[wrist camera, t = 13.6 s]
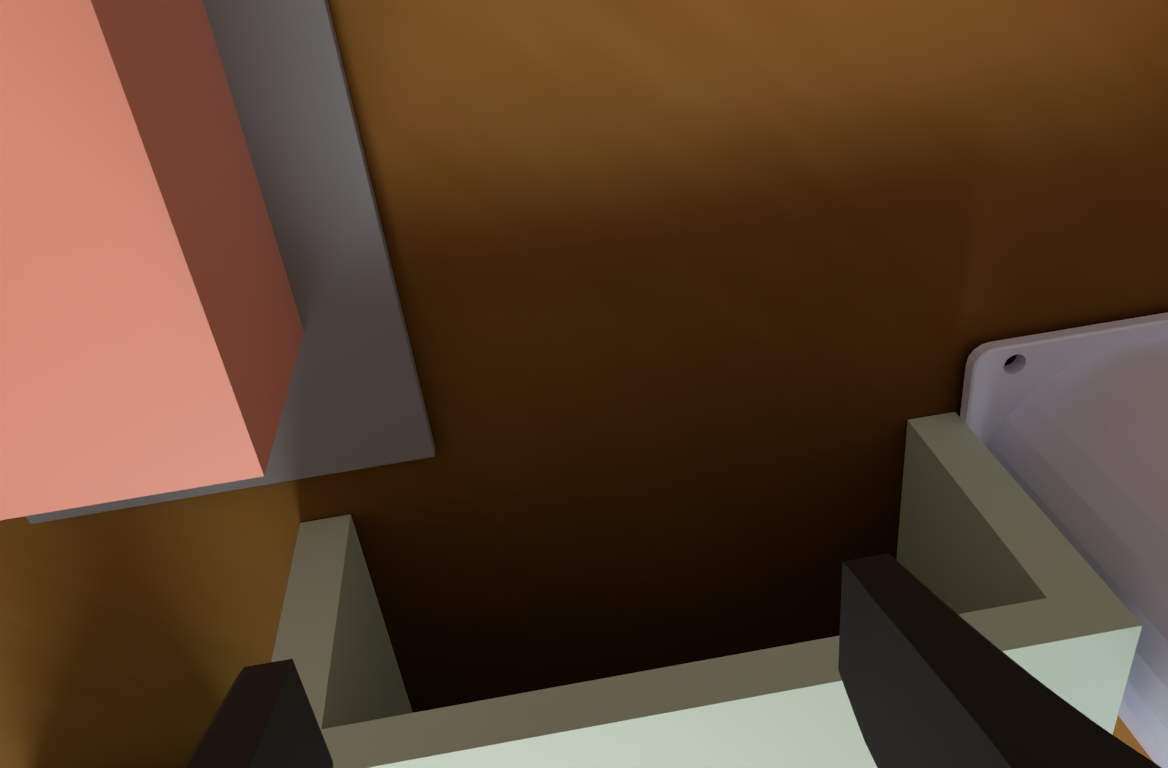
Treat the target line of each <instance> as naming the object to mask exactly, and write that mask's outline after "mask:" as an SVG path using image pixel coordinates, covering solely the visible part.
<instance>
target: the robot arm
mask: <svg viewBox="0 0 1168 768" xmlns="http://www.w3.org/2000/svg"><path fill="white" fill-rule="evenodd" d="M1016 354H1017V356H1016V358H1015V360H1014V361H1013V362H1012V363H1011V364H1008V365H1006V366H1004V364H1005V362H1006V360H1008V359H1009V358H1010V357H1011V356H1013V355H1016ZM960 418H961V419H962V420H963V421H964V422H965V424H966V425H967V426H968V427H969V428H970V429H971V430H972V432H973V433H974V434H975V435H976V436H977V437H978V438H979V440H980V441H981V442H982V443H983V444H984V445H985V446H986V448H987V449H988V450H989V451H990V452H991V453H992V454H993V456H994V457H995V458H996V459H997V460H998V461H999V462H1000V464H1001V465H1002V466H1003V467H1004V468H1005V469H1006V470H1007V472H1008V473H1009V474H1010V475H1011V476H1012V477H1013V478H1014V480H1015V481H1016V482H1017V483H1018V484H1019V485H1020V486H1021V488H1022V489H1023V490H1024V491H1025V492H1026V493H1027V494H1028V496H1029V497H1030V498H1031V499H1032V500H1033V501H1034V502H1035V504H1036V505H1037V506H1038V507H1039V508H1040V509H1041V510H1042V512H1043V513H1044V514H1045V515H1046V516H1047V517H1048V518H1049V520H1050V521H1051V522H1052V523H1053V524H1054V525H1055V526H1056V528H1057V529H1058V530H1059V531H1060V532H1061V533H1062V534H1063V536H1064V537H1065V538H1066V539H1067V540H1068V541H1069V542H1070V544H1071V545H1072V546H1073V547H1074V548H1075V549H1076V550H1077V552H1078V553H1079V554H1080V555H1081V556H1082V557H1083V558H1084V560H1085V561H1086V562H1087V563H1088V564H1089V565H1090V566H1091V568H1092V569H1093V570H1094V571H1095V572H1096V573H1097V574H1098V576H1099V577H1100V578H1101V579H1102V580H1103V581H1104V582H1105V584H1106V585H1107V586H1108V587H1109V588H1110V589H1111V590H1112V592H1113V593H1114V594H1115V595H1116V596H1117V597H1118V598H1119V600H1120V601H1121V602H1122V603H1123V604H1124V605H1125V606H1126V608H1127V609H1128V610H1129V611H1130V612H1131V613H1132V614H1133V616H1134V617H1135V618H1136V619H1137V620H1138V621H1139V622H1140V623H1141V625H1142V628H1141V632H1140V636H1139V639H1138V643H1137V647H1136V650H1135V654H1134V657H1133V661H1132V665H1131V668H1130V672H1129V676H1128V679H1127V683H1126V687H1125V690H1124V694H1123V697H1122V701H1121V705H1120V708H1119V712H1118V716H1119V717H1120V718H1121V720H1122V721H1123V722H1124V723H1125V725H1126V726H1127V727H1128V729H1129V730H1130V731H1131V733H1132V734H1133V735H1134V737H1135V738H1136V739H1137V741H1138V742H1139V743H1140V745H1141V746H1142V747H1143V749H1144V750H1145V751H1146V752H1147V754H1148V755H1149V756H1150V758H1151V759H1152V760H1153V762H1152V761H1151V760H1149V759H1148V758H1146V757H1145V756H1143V755H1141V754H1140V753H1138V752H1137V751H1135V750H1134V749H1132V748H1131V747H1129V746H1128V745H1127V744H1125V743H1124V742H1122V741H1121V740H1119V739H1118V738H1116V737H1115V736H1113V735H1112V734H1111V733H1109V732H1108V731H1106V730H1105V729H1103V728H1102V727H1101V726H1099V725H1098V724H1096V723H1095V722H1094V721H1092V720H1091V719H1089V718H1088V717H1087V716H1085V715H1084V714H1083V713H1081V712H1080V711H1079V710H1077V709H1076V708H1074V707H1073V706H1072V705H1070V704H1069V703H1068V702H1066V701H1065V700H1064V699H1062V698H1061V697H1059V696H1058V695H1057V694H1056V693H1054V692H1053V691H1052V690H1050V689H1049V688H1048V687H1046V686H1045V685H1044V684H1043V683H1041V682H1040V681H1039V680H1037V679H1036V678H1035V677H1033V676H1032V675H1031V674H1030V673H1028V672H1027V671H1026V670H1025V669H1023V668H1022V667H1021V666H1020V665H1019V664H1017V663H1016V662H1015V661H1014V660H1012V659H1011V658H1010V657H1009V656H1007V655H1006V654H1005V653H1004V652H1002V651H1001V650H1000V649H999V648H997V647H996V646H995V645H994V644H992V643H991V642H990V641H989V640H988V639H986V638H985V637H984V636H983V635H982V634H980V633H979V632H978V631H977V630H976V629H975V628H973V627H972V626H971V625H970V624H969V623H967V622H966V621H965V620H964V619H963V618H962V617H961V616H959V615H958V614H957V613H956V612H955V611H954V610H952V609H951V608H950V607H949V606H948V605H947V604H946V603H944V602H943V601H942V600H941V599H940V598H939V597H938V596H936V595H935V594H934V593H933V592H932V591H931V590H930V589H929V588H927V587H926V586H925V585H924V584H923V583H922V582H921V581H920V580H918V579H917V578H916V577H915V576H914V575H913V574H912V573H911V572H909V571H908V570H907V569H906V568H905V567H904V566H903V565H902V564H900V563H899V562H898V561H897V560H896V559H895V558H893V557H892V556H891V555H889V554H888V553H887V554H881V555H875V556H870V557H864V558H858V559H853V560H847V561H843V563H842V588H841V612H840V637H839V662H838V670H839V673H840V676H841V679H842V682H843V684H844V687H845V690H846V693H847V695H848V698H849V701H850V704H851V707H852V709H853V712H854V715H855V717H856V720H857V723H858V725H859V728H860V730H861V733H862V736H863V738H864V741H865V743H866V745H867V747H868V749H869V751H870V753H871V756H872V758H873V760H874V762H875V764H876V766H877V768H1168V312H1166V313H1160V314H1154V315H1148V316H1142V317H1136V318H1130V319H1124V320H1118V321H1112V322H1106V323H1100V324H1094V325H1088V326H1082V327H1076V328H1070V329H1064V330H1058V331H1052V332H1046V333H1040V334H1034V335H1028V336H1022V337H1016V338H1010V339H1004V340H998V341H992V342H987V343H984V344H982V345H980V346H978V347H977V348H976V349H974V350H973V351H972V353H971V354H970V355H969V357H968V359H967V362H966V368H965V377H964V386H963V394H962V403H961V412H960ZM184 768H333V760H332V758H331V755H330V753H329V750H328V747H327V745H326V742H325V740H324V737H323V735H322V732H321V730H320V727H319V725H318V722H317V720H316V717H315V715H314V712H313V710H312V707H311V704H310V702H309V699H308V697H307V694H306V692H305V689H304V687H303V684H302V682H301V679H300V677H299V674H298V672H297V669H296V667H295V664H294V661H293V659H287V660H282V661H276V662H271V663H265V664H259V665H254V666H248V667H244V668H243V670H242V671H241V672H240V673H239V675H238V676H237V678H236V680H235V681H234V683H233V685H232V687H231V688H230V690H229V692H228V693H227V695H226V697H225V699H224V700H223V702H222V704H221V705H220V707H219V709H218V711H217V712H216V714H215V716H214V717H213V719H212V721H211V723H210V724H209V726H208V728H207V729H206V731H205V733H204V734H203V736H202V738H201V739H200V741H199V743H198V744H197V746H196V748H195V749H194V751H193V753H192V754H191V756H190V758H189V759H188V761H187V763H186V764H185V766H184Z"/></svg>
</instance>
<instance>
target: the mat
mask: <svg viewBox="0 0 1168 768" xmlns="http://www.w3.org/2000/svg"><path fill="white" fill-rule="evenodd" d="M203 3H204V6H205V9H206V13H207V16H208V19H209V23H210V26H211V29H212V32H213V36H214V39H215V42H216V45H217V49H218V52H219V55H220V58H221V62H222V65H223V68H224V72H225V75H226V78H227V81H228V85H229V88H230V91H231V94H232V98H233V101H234V104H235V108H236V111H237V114H238V117H239V121H240V124H241V127H242V130H243V134H244V137H245V140H246V143H247V147H248V150H249V153H250V157H251V160H252V163H253V166H254V170H255V173H256V176H257V179H258V183H259V186H260V189H261V193H262V196H263V199H264V202H265V206H266V209H267V212H268V215H269V219H270V222H271V225H272V228H273V232H274V235H275V238H276V242H277V245H278V248H279V251H280V255H281V258H282V261H283V264H284V268H285V271H286V274H287V278H288V281H289V284H290V287H291V291H292V294H293V297H294V300H295V304H296V307H297V310H298V313H299V317H300V320H301V323H302V327H303V330H304V335H303V339H302V342H301V346H300V349H299V353H298V357H297V360H296V364H295V367H294V371H293V375H292V378H291V382H290V385H289V389H288V393H287V396H286V400H285V403H284V407H283V411H282V414H281V418H280V421H279V425H278V428H277V432H276V436H275V439H274V443H273V446H272V450H271V454H270V457H269V461H268V464H267V468H266V472H265V475H264V476H263V477H257V478H251V479H245V480H239V481H233V482H227V483H221V484H215V485H209V486H203V487H197V488H191V489H185V490H179V491H173V492H167V493H161V494H155V495H149V496H143V497H137V498H131V499H125V500H119V501H113V502H107V503H101V504H95V505H89V506H83V507H77V508H71V509H65V510H59V511H53V512H47V513H41V514H35V515H29V516H26V518H27V520H28V522H29V523H30V524H35V523H41V522H47V521H53V520H59V519H65V518H71V517H77V516H83V515H89V514H95V513H101V512H107V511H112V510H118V509H124V508H130V507H136V506H142V505H148V504H154V503H160V502H166V501H172V500H178V499H184V498H190V497H196V496H202V495H208V494H214V493H220V492H226V491H232V490H238V489H244V488H250V487H256V486H262V485H268V484H274V483H280V482H286V481H292V480H298V479H304V478H310V477H316V476H322V475H328V474H334V473H340V472H346V471H352V470H357V469H363V468H369V467H375V466H381V465H387V464H393V463H399V462H405V461H411V460H417V459H423V458H429V457H435V445H434V441H433V436H432V432H431V428H430V424H429V420H428V416H427V411H426V407H425V403H424V399H423V395H422V391H421V387H420V382H419V378H418V374H417V370H416V366H415V362H414V357H413V353H412V349H411V345H410V341H409V337H408V333H407V328H406V324H405V320H404V316H403V312H402V308H401V303H400V299H399V295H398V291H397V287H396V283H395V279H394V274H393V270H392V266H391V262H390V258H389V254H388V249H387V245H386V241H385V237H384V233H383V229H382V225H381V220H380V216H379V212H378V208H377V204H376V200H375V195H374V191H373V187H372V183H371V179H370V175H369V171H368V166H367V162H366V158H365V154H364V150H363V146H362V141H361V137H360V133H359V129H358V125H357V121H356V117H355V112H354V108H353V104H352V100H351V96H350V92H349V87H348V83H347V79H346V75H345V71H344V67H343V63H342V58H341V54H340V50H339V46H338V42H337V38H336V33H335V29H334V25H333V21H332V17H331V13H330V9H329V4H328V0H203Z"/></svg>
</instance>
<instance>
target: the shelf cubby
mask: <svg viewBox="0 0 1168 768" xmlns="http://www.w3.org/2000/svg"><path fill="white" fill-rule="evenodd" d="M896 560H897V561H898V562H899V563H900V564H902V565H903V566H904V567H905V568H906V569H907V570H908V571H909V572H911V573H912V574H913V575H914V576H915V577H916V578H917V579H918V580H920V581H921V582H922V583H923V584H924V585H925V586H926V587H927V588H929V589H930V590H931V591H932V592H933V593H934V594H935V595H936V596H938V597H939V598H940V599H941V600H942V601H943V602H944V603H946V604H947V605H948V606H949V607H950V608H951V609H952V610H954V611H955V612H956V613H957V614H958V615H959V616H961V617H962V618H963V619H964V620H965V621H966V622H967V623H969V624H970V625H971V626H972V627H973V628H975V629H976V630H977V631H978V632H979V633H980V634H982V635H983V636H984V637H985V638H986V639H988V640H989V641H990V642H991V643H992V644H994V645H995V646H996V647H997V648H999V649H1000V650H1001V651H1002V652H1004V653H1005V654H1006V655H1007V656H1009V657H1010V658H1011V659H1012V660H1014V661H1015V662H1016V663H1017V664H1019V665H1020V666H1021V667H1022V668H1023V669H1025V670H1026V671H1027V672H1028V673H1030V674H1031V675H1032V676H1033V677H1035V678H1036V679H1037V680H1039V681H1040V682H1041V683H1043V684H1044V685H1045V686H1046V687H1048V688H1049V689H1050V690H1052V691H1053V692H1054V693H1056V694H1057V695H1058V696H1059V697H1061V698H1062V699H1064V700H1065V701H1066V702H1068V703H1069V704H1070V705H1072V706H1073V707H1074V708H1076V709H1077V710H1079V711H1080V712H1081V713H1083V714H1084V715H1085V716H1087V717H1088V718H1089V719H1091V720H1092V721H1094V722H1095V723H1096V724H1098V725H1099V726H1101V727H1102V728H1103V729H1105V730H1106V731H1108V732H1109V733H1111V734H1113V730H1114V727H1115V723H1116V719H1117V716H1118V712H1119V708H1120V705H1121V701H1122V697H1123V694H1124V690H1125V687H1126V683H1127V679H1128V676H1129V672H1130V668H1131V665H1132V661H1133V657H1134V654H1135V650H1136V647H1137V643H1138V639H1139V636H1140V632H1141V628H1142V625H1141V623H1140V622H1139V621H1138V620H1137V619H1136V618H1135V617H1134V616H1133V614H1132V613H1131V612H1130V611H1129V610H1128V609H1127V608H1126V606H1125V605H1124V604H1123V603H1122V602H1121V601H1120V600H1119V598H1118V597H1117V596H1116V595H1115V594H1114V593H1113V592H1112V590H1111V589H1110V588H1109V587H1108V586H1107V585H1106V584H1105V582H1104V581H1103V580H1102V579H1101V578H1100V577H1099V576H1098V574H1097V573H1096V572H1095V571H1094V570H1093V569H1092V568H1091V566H1090V565H1089V564H1088V563H1087V562H1086V561H1085V560H1084V558H1083V557H1082V556H1081V555H1080V554H1079V553H1078V552H1077V550H1076V549H1075V548H1074V547H1073V546H1072V545H1071V544H1070V542H1069V541H1068V540H1067V539H1066V538H1065V537H1064V536H1063V534H1062V533H1061V532H1060V531H1059V530H1058V529H1057V528H1056V526H1055V525H1054V524H1053V523H1052V522H1051V521H1050V520H1049V518H1048V517H1047V516H1046V515H1045V514H1044V513H1043V512H1042V510H1041V509H1040V508H1039V507H1038V506H1037V505H1036V504H1035V502H1034V501H1033V500H1032V499H1031V498H1030V497H1029V496H1028V494H1027V493H1026V492H1025V491H1024V490H1023V489H1022V488H1021V486H1020V485H1019V484H1018V483H1017V482H1016V481H1015V480H1014V478H1013V477H1012V476H1011V475H1010V474H1009V473H1008V472H1007V470H1006V469H1005V468H1004V467H1003V466H1002V465H1001V464H1000V462H999V461H998V460H997V459H996V458H995V457H994V456H993V454H992V453H991V452H990V451H989V450H988V449H987V448H986V446H985V445H984V444H983V443H982V442H981V441H980V440H979V438H978V437H977V436H976V435H975V434H974V433H973V432H972V430H971V429H970V428H969V427H968V426H967V425H966V424H965V422H964V421H963V420H962V419H961V418H960V417H959V416H958V414H957V413H956V412H950V413H944V414H939V415H933V416H927V417H921V418H915V419H909V420H907V433H906V445H905V458H904V470H903V483H902V495H901V508H900V520H899V533H898V545H897V558H896ZM839 637H840V636H835V637H829V638H824V639H818V640H812V641H807V642H801V643H796V644H790V645H785V646H779V647H774V648H768V649H763V650H757V651H752V652H746V653H741V654H735V655H730V656H724V657H719V658H713V659H708V660H702V661H696V662H691V663H685V664H680V665H674V666H669V667H663V668H658V669H652V670H647V671H641V672H636V673H630V674H625V675H619V676H614V677H608V678H603V679H597V680H591V681H586V682H580V683H575V684H569V685H564V686H558V687H553V688H547V689H542V690H536V691H531V692H525V693H520V694H514V695H509V696H503V697H498V698H492V699H487V700H481V701H475V702H470V703H464V704H459V705H453V706H448V707H442V708H437V709H431V710H426V711H420V712H415V713H413V712H412V709H411V705H410V702H409V699H408V696H407V693H406V689H405V686H404V683H403V680H402V677H401V673H400V670H399V667H398V664H397V661H396V657H395V654H394V651H393V648H392V645H391V641H390V638H389V635H388V632H387V629H386V625H385V622H384V619H383V616H382V613H381V609H380V606H379V603H378V600H377V597H376V593H375V590H374V587H373V584H372V581H371V577H370V574H369V571H368V568H367V565H366V561H365V558H364V555H363V552H362V549H361V545H360V542H359V539H358V536H357V533H356V529H355V526H354V523H353V520H352V517H351V514H349V515H343V516H337V517H332V518H326V519H320V520H314V521H308V522H302V523H300V525H299V530H298V535H297V539H296V544H295V549H294V554H293V559H292V563H291V568H290V573H289V578H288V583H287V587H286V592H285V597H284V602H283V607H282V611H281V616H280V621H279V626H278V631H277V635H276V640H275V645H274V650H273V655H272V659H271V662H276V661H282V660H287V659H293V661H294V664H295V667H296V669H297V672H298V674H299V677H300V679H301V682H302V684H303V687H304V689H305V692H306V694H307V697H308V699H309V702H310V704H311V707H312V710H313V712H314V715H315V717H316V720H317V722H318V725H319V727H320V730H321V732H322V735H323V737H324V740H325V742H326V745H327V747H328V750H329V753H330V755H331V758H332V760H333V768H877V766H876V764H875V762H874V760H873V758H872V756H871V753H870V751H869V749H868V747H867V745H866V743H865V741H864V738H863V736H862V733H861V730H860V728H859V725H858V723H857V720H856V717H855V715H854V712H853V709H852V707H851V704H850V701H849V698H848V695H847V693H846V690H845V687H844V684H843V682H842V679H841V676H840V673H839V670H838V662H839Z"/></svg>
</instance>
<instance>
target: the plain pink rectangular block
mask: <svg viewBox="0 0 1168 768" xmlns="http://www.w3.org/2000/svg"><path fill="white" fill-rule="evenodd" d="M303 335H304V330H303V327H302V323H301V320H300V317H299V313H298V310H297V307H296V304H295V300H294V297H293V294H292V291H291V287H290V284H289V281H288V278H287V274H286V271H285V268H284V264H283V261H282V258H281V255H280V251H279V248H278V245H277V242H276V238H275V235H274V232H273V228H272V225H271V222H270V219H269V215H268V212H267V209H266V206H265V202H264V199H263V196H262V193H261V189H260V186H259V183H258V179H257V176H256V173H255V170H254V166H253V163H252V160H251V157H250V153H249V150H248V147H247V143H246V140H245V137H244V134H243V130H242V127H241V124H240V121H239V117H238V114H237V111H236V108H235V104H234V101H233V98H232V94H231V91H230V88H229V85H228V81H227V78H226V75H225V72H224V68H223V65H222V62H221V58H220V55H219V52H218V49H217V45H216V42H215V39H214V36H213V32H212V29H211V26H210V23H209V19H208V16H207V13H206V9H205V6H204V3H203V0H0V520H5V519H11V518H17V517H23V516H29V515H35V514H41V513H47V512H53V511H59V510H65V509H71V508H77V507H83V506H89V505H95V504H101V503H107V502H113V501H119V500H125V499H131V498H137V497H143V496H149V495H155V494H161V493H167V492H173V491H179V490H185V489H191V488H197V487H203V486H209V485H215V484H221V483H227V482H233V481H239V480H245V479H251V478H257V477H263V476H264V475H265V472H266V468H267V464H268V461H269V457H270V454H271V450H272V446H273V443H274V439H275V436H276V432H277V428H278V425H279V421H280V418H281V414H282V411H283V407H284V403H285V400H286V396H287V393H288V389H289V385H290V382H291V378H292V375H293V371H294V367H295V364H296V360H297V357H298V353H299V349H300V346H301V342H302V339H303Z"/></svg>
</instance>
